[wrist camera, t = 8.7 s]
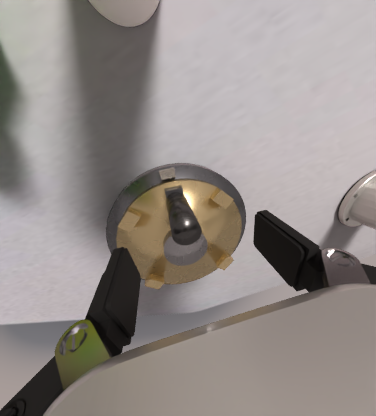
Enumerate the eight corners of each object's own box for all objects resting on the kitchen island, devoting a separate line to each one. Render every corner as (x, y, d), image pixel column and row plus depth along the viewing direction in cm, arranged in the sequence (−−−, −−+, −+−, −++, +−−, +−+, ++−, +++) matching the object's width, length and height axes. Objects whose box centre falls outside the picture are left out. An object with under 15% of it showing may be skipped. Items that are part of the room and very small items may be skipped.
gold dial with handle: (163, 147, 16) (172, 158, 9) (258, 217, 24) (306, 254, 16) (95, 259, 21) (63, 328, 13) (193, 287, 28) (207, 341, 21)
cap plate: (259, 180, 23) (271, 185, 21) (216, 274, 31) (221, 285, 29) (114, 144, 17) (108, 145, 14) (107, 273, 25) (102, 287, 23)
